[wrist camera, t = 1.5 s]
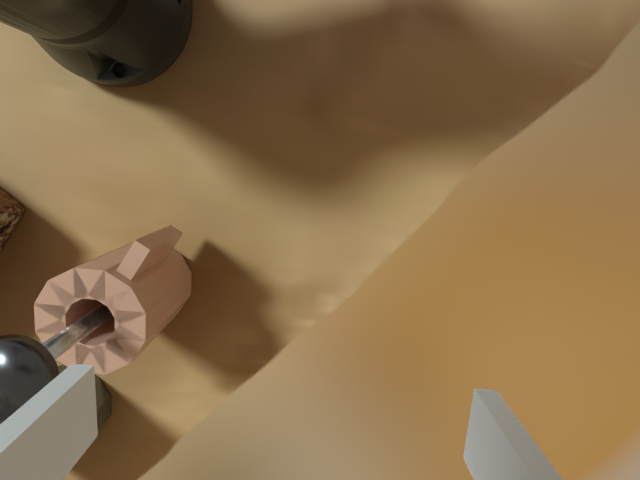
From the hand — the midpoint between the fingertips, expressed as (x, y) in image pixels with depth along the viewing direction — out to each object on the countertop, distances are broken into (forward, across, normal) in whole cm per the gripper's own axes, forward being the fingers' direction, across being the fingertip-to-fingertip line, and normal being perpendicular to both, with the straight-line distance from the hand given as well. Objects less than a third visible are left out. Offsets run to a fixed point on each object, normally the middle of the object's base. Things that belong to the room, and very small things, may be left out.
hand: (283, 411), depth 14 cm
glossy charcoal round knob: (+21, -17, -6) cm, 28 cm away
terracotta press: (+31, -16, -5) cm, 35 cm away
